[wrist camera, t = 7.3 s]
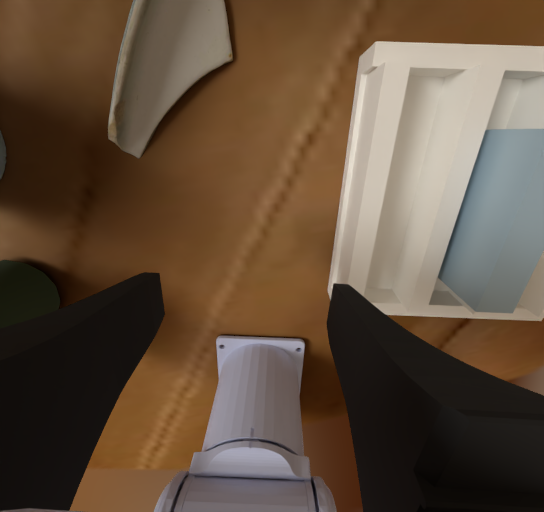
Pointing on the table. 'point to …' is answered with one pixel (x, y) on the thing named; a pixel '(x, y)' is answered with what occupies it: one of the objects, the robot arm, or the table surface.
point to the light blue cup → (2, 155)
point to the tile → (499, 222)
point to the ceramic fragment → (163, 63)
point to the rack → (426, 167)
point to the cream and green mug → (24, 293)
